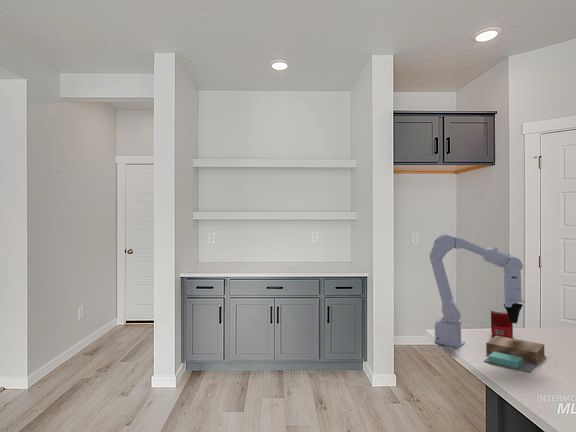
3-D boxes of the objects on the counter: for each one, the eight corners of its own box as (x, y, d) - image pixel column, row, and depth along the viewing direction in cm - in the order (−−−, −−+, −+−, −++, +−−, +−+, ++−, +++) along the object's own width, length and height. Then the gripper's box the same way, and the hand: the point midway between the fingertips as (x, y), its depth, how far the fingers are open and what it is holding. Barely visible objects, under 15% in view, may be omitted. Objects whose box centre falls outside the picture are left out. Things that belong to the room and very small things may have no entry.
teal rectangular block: (494, 351, 136) (494, 357, 136) (488, 355, 131) (488, 361, 131) (522, 357, 129) (522, 363, 129) (517, 362, 125) (517, 368, 125)
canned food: (516, 338, 157) (516, 312, 157) (497, 339, 157) (496, 312, 157) (506, 333, 164) (505, 308, 165) (488, 333, 165) (487, 308, 165)
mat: (483, 361, 132) (483, 361, 132) (491, 355, 138) (491, 354, 138) (530, 372, 122) (530, 371, 122) (536, 364, 129) (536, 364, 129)
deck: (486, 353, 140) (486, 342, 140) (496, 345, 149) (496, 335, 149) (536, 364, 129) (536, 352, 129) (544, 355, 137) (544, 344, 137)
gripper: (519, 291, 138) (520, 328, 137) (529, 286, 148) (530, 320, 148) (498, 289, 143) (499, 325, 142) (509, 284, 153) (510, 317, 153)
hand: (513, 322), depth 145 cm, fingers closed
